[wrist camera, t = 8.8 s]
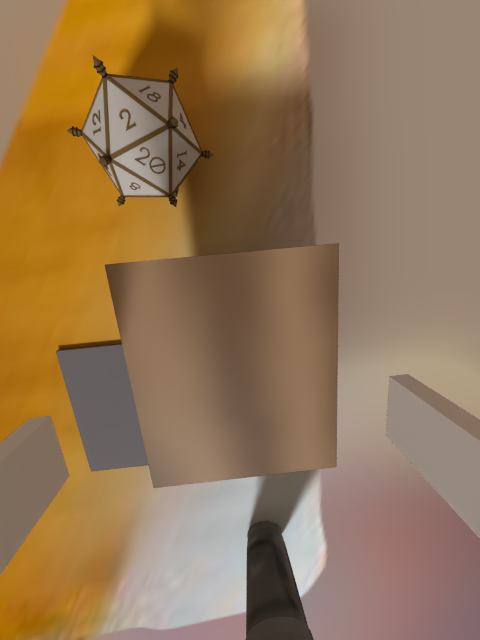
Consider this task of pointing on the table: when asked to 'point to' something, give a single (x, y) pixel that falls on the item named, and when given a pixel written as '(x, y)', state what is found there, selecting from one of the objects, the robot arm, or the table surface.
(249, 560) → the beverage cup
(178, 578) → the table surface
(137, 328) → the brown wooden block
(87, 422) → the mat
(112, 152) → the game die
